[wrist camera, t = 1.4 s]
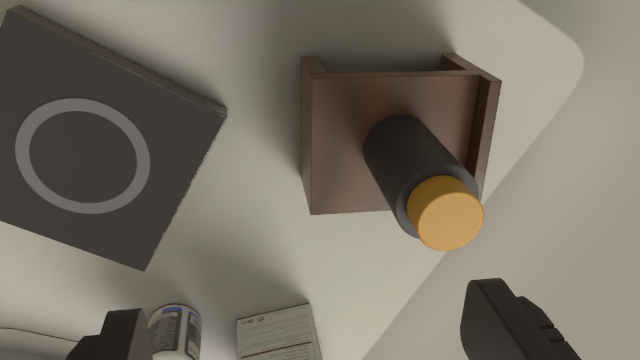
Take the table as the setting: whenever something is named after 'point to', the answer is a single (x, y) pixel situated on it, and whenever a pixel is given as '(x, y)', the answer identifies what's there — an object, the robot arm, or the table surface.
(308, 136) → the spice shelf
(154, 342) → the pill bottle
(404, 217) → the spice bottle
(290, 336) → the white packaging box
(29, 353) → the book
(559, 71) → the table surface
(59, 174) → the hob
